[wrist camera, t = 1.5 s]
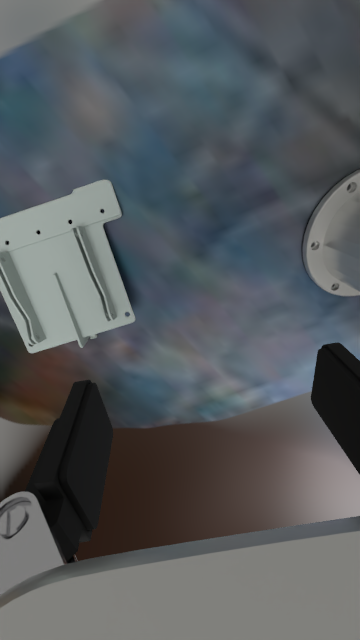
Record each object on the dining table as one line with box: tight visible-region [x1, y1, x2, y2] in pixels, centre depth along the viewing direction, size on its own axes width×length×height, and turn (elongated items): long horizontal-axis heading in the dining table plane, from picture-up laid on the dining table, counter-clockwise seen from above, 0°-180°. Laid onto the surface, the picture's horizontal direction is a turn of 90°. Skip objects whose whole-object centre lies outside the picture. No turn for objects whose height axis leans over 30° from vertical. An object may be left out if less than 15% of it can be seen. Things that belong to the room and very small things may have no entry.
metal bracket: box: [0, 180, 135, 353], centre depth 26 cm, size 14×6×15 cm
